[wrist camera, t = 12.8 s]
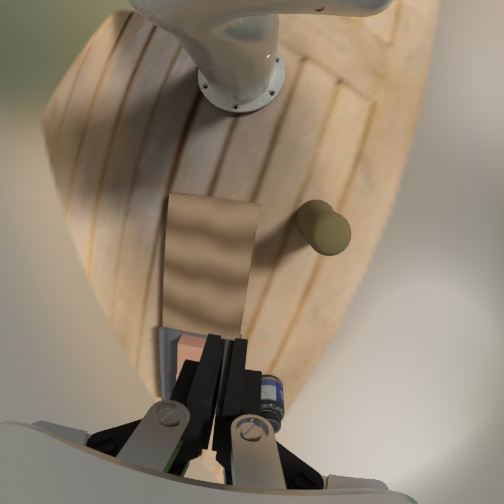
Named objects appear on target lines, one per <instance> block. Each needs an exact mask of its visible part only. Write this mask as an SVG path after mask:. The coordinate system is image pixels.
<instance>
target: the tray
mask: <svg viewBox="0 0 504 504" xmlns="http://www.w3.org/2000/svg"><path fill="white" fill-rule="evenodd" d="M182 334H184V335H189V336H194V337H199V338H205V339H207V336H208V335H202V334H197V333H191V332H186V331H181V330H176V329H171V328H167V327H163V324H162V325H161V327H160V329H159V352H160V378H161V395H162V401H164V400H169V399H170V397H171V394H172V391H173V389H174V386H175V384H176V374H177V355H178V342H179V340H180V338H181V336H182ZM241 336H242V335H241V334H240V337H239V338H240V339H241ZM221 339H225V338H221ZM225 340H226V342H225V350H224V358H223V366H222V374H221V381H222V376H223V371H224V366H225V361H226V356H227V351H228V346H229V341H230V340H231V339H225ZM231 341H235V340H231ZM220 386H221V382H220ZM219 391H220V389H219ZM218 396H219V395H218ZM217 401H218V400H217ZM216 408H217V405H216ZM215 412H216V410H215Z"/></svg>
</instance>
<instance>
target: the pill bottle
mask: <svg viewBox="0 0 504 504" xmlns="http://www.w3.org/2000/svg"><path fill="white" fill-rule="evenodd" d="M261 417H263V418H265V419H266V420H268V421H269V423H270V424H271V425H272V427H273V430H274V434H275V433H277V432H278V431H279V430H280V428H281V420H282V419H283V417H284V397H283V385H282V382H281V381H280V380H279V379H278V378H277V377H275V376H272V375H262V383H261Z"/></svg>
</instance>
